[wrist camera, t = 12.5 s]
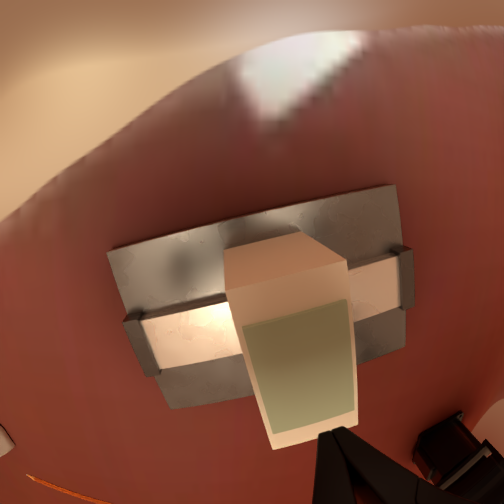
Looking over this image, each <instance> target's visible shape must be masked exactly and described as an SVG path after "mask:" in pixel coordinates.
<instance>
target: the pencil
mask: <svg viewBox="0 0 504 504" xmlns="http://www.w3.org/2000/svg"><path fill="white" fill-rule="evenodd" d="M26 475H27V476H29V477H30V478H32V479H33V480H35V481H37V482H39V483H41V484H44V485H46V486H48V487H51V488H53V489H56V490H59V491H61V492H64V493H67V494H70V495H72V496H75V497H78V498H81V499H85V500H88V501H91V502H94V503H98V504H112V503H108V502H105V501H101V500H97V499H94V498H91V497H87V496H84V495H81V494H78V493H75V492H72V491H69V490H66V489H64V488H61V487H58V486H56V485H53V484H51V483H48V482H46V481H43V480H41V479H39V478H36V477H34V476H31V475H28V474H26Z"/></svg>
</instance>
